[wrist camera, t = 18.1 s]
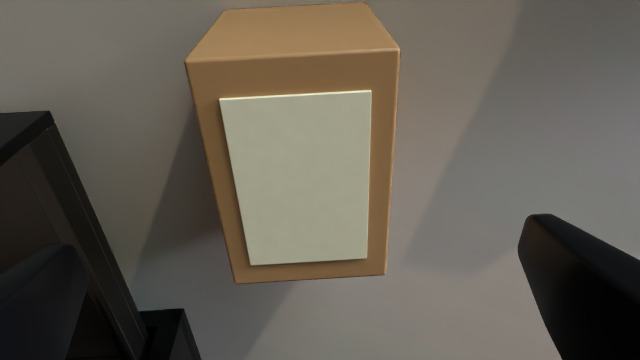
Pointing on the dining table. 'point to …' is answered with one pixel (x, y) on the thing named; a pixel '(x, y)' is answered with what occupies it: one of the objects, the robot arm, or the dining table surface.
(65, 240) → the tray
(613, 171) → the dining table surface
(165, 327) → the toaster oven
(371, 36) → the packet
